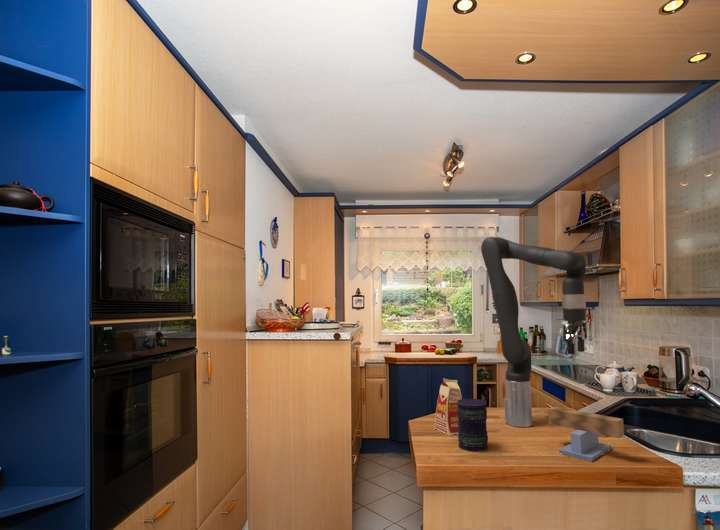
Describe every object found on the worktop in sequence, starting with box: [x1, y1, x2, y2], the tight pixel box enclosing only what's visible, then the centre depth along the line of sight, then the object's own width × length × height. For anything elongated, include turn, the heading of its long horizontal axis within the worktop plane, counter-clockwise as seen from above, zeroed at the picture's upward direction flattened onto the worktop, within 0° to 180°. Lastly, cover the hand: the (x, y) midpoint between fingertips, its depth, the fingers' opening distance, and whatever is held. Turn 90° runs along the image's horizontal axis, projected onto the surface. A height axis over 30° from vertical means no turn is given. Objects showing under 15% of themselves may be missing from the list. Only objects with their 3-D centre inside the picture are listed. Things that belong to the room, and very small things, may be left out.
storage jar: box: [457, 398, 489, 453], centre depth 152 cm, size 10×10×15 cm
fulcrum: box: [558, 429, 612, 463], centre depth 145 cm, size 10×16×7 cm, turn 132°
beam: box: [547, 406, 625, 439], centre depth 146 cm, size 22×4×5 cm, turn 42°
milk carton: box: [434, 377, 463, 436], centre depth 170 cm, size 9×9×20 cm
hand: (576, 352), depth 159 cm, fingers open, 8 cm apart
